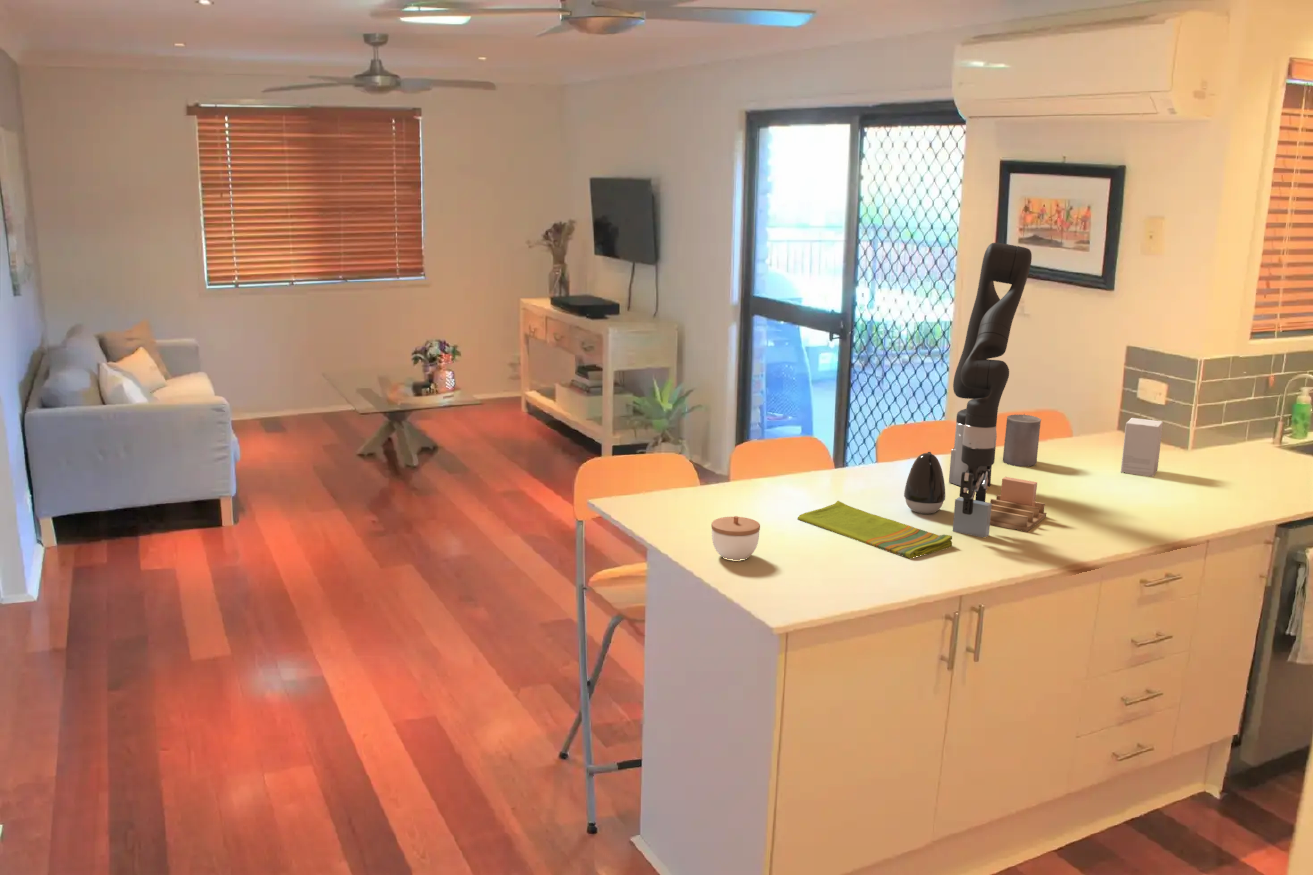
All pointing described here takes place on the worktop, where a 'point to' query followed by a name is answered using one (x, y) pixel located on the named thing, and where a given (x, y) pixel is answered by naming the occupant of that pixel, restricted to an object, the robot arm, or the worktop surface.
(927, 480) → the black egg-shaped piece
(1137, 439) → the supplement box
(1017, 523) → the dish rack
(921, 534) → the dish towel
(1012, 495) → the terracotta plate
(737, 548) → the lidded jar
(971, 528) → the slate grey rectangular block
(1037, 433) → the pillar candle
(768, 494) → the worktop surface
